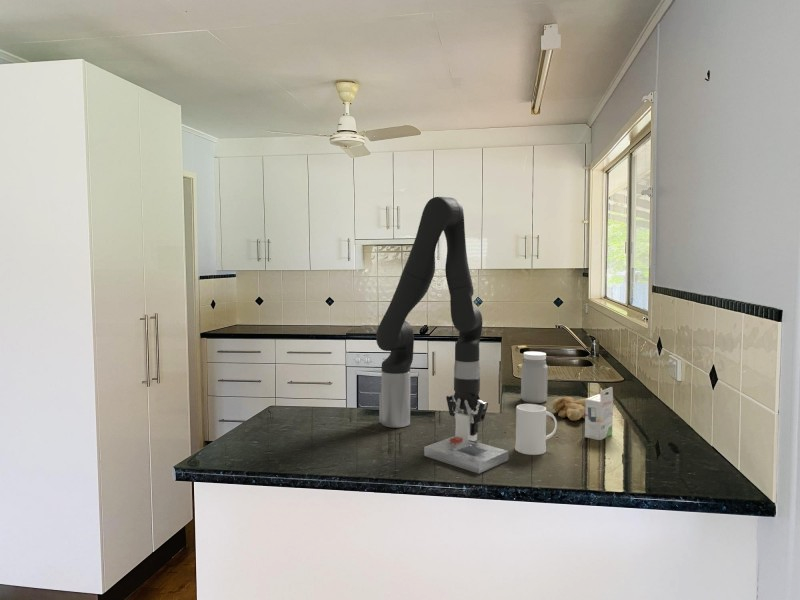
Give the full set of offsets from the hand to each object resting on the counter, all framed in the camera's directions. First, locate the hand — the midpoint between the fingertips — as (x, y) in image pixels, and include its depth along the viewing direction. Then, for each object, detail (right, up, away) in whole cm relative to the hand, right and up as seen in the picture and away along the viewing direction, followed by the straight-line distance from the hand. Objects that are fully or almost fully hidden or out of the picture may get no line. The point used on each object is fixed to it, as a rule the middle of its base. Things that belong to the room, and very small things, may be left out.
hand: (466, 432), depth 162 cm
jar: (+31, +1, +47) cm, 56 cm away
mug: (+19, -3, -8) cm, 20 cm away
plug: (0, -2, 0) cm, 2 cm away
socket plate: (-2, -3, -15) cm, 15 cm away
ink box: (+40, -2, +4) cm, 41 cm away
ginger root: (+38, -1, +26) cm, 46 cm away
